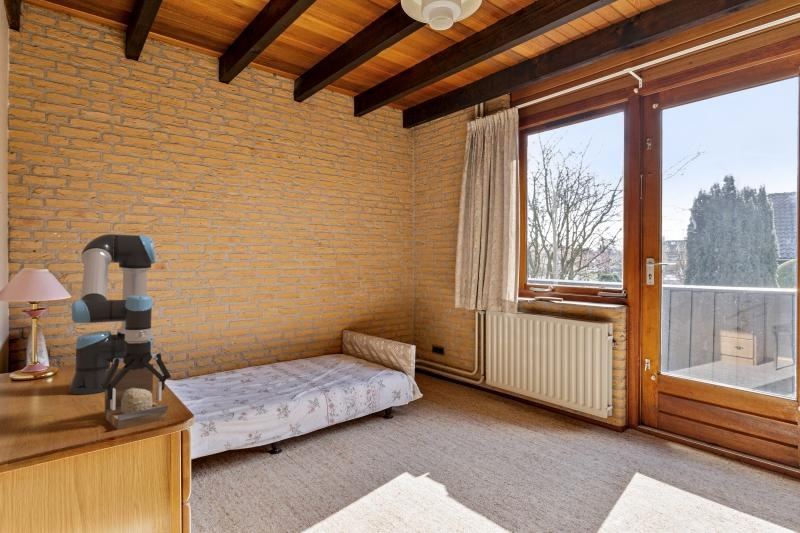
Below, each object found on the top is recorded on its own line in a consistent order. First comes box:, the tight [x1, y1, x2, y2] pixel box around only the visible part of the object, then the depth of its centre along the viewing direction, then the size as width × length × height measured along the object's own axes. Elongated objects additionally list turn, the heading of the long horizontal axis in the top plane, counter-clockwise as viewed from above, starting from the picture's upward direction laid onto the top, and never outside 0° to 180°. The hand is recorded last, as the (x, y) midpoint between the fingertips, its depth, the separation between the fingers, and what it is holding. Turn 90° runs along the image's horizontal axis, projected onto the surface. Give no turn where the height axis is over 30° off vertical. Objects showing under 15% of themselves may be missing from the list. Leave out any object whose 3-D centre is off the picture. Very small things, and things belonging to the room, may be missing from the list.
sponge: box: [121, 387, 153, 414], centre depth 141 cm, size 9×10×10 cm
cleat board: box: [103, 363, 169, 431], centre depth 141 cm, size 17×14×16 cm
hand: (136, 404), depth 141 cm, fingers open, 13 cm apart
